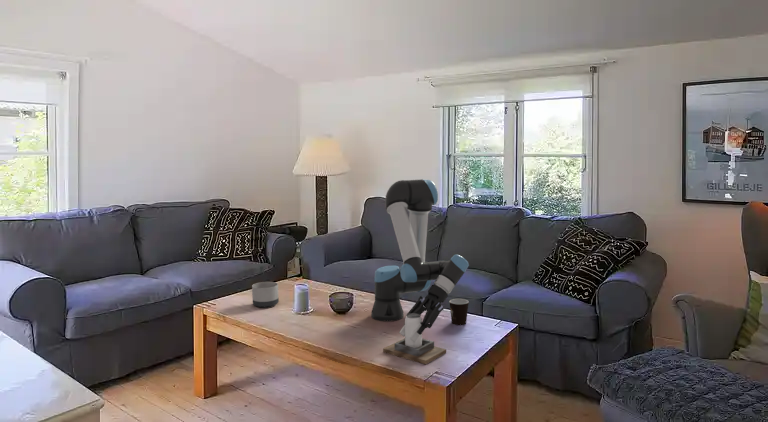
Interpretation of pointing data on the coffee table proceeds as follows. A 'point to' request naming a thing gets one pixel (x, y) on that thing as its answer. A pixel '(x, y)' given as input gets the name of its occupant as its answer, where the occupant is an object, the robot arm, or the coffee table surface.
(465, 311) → the coffee mug
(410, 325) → the can
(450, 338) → the coffee table surface
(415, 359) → the wooden board with frame
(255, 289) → the planter
